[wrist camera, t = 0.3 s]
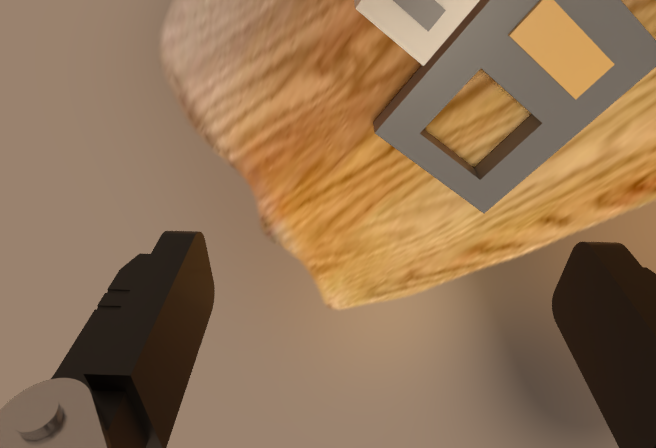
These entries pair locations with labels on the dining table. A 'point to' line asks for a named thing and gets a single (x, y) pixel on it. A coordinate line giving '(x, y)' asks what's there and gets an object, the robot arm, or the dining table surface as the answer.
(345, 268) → the dining table surface
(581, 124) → the plate
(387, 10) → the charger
